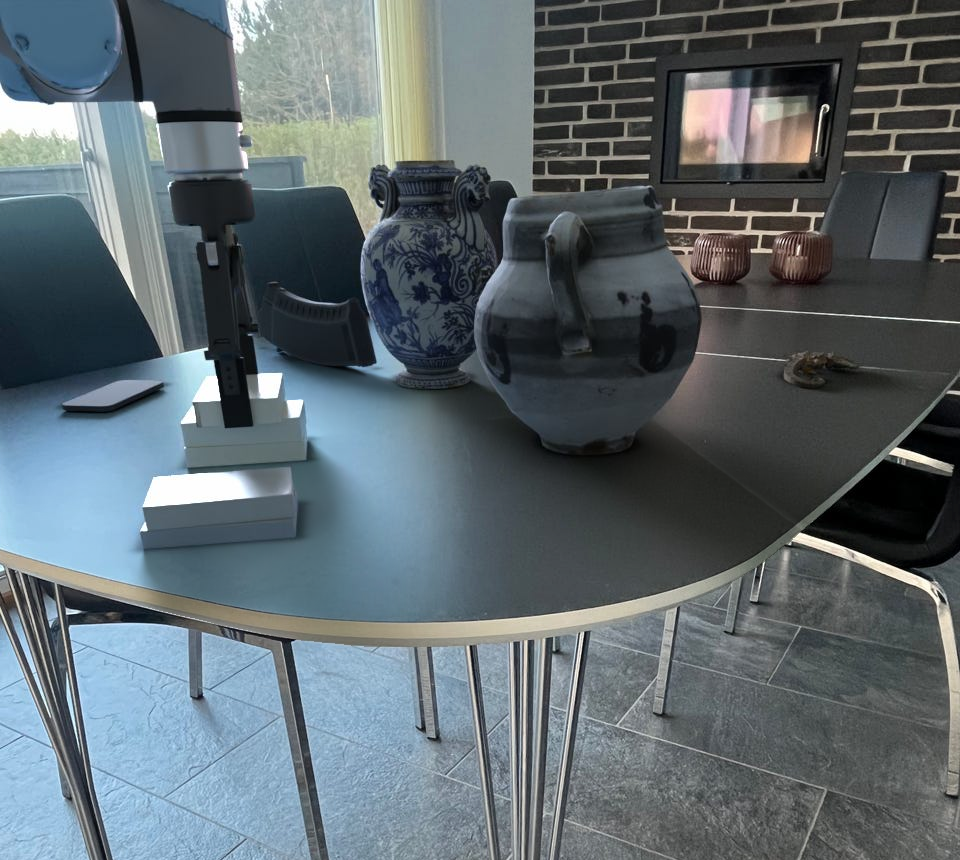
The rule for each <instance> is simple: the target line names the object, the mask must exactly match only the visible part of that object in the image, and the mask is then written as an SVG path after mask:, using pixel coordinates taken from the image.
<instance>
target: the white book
mask: <svg viewBox="0 0 960 860" xmlns="http://www.w3.org/2000/svg"><path fill="white" fill-rule="evenodd" d="M246 378H247V384H248V391H249V398H250V405H251V411H252V418H253V424H266V423H280V422H281V417H282V411H283V405H284V401H286V400H285V399H286V390H285V382H284V375H283V373H282V372H278V373H258V374H254V375H246ZM191 403H192V407H193V409H194V414H195V420H196V426H197V428H198V427H213V426H224V421H223V415H222V409H221V402H220V396H219V390H218V384H217V378H216V375H215V376H206V378H205V380H203V383H202V384H201V386H200V388H199V390H198V391H197V393H196V395H195V397H194V398H193V400H192V402H191Z"/></svg>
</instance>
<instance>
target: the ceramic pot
mask: <svg viewBox="0 0 960 860" xmlns="http://www.w3.org/2000/svg"><path fill="white" fill-rule="evenodd" d="M663 211H664V210H663V205H662V204H661V202H660V200H659V197H658V196H657V192H656V190H655V187H654V186H652V185H647V186H645V185H636V186H623V187H617V188H606V189H597V190H596V189H595V190H587V191H585V190H584V191H574V192H566V193H558V194H557V193H555V194H554V193H553V194H552V193H551V194H540V195H529V196H528V195H527V196H519V197H518V196H517V197H512V198H510V199H509V201H508V203H507V206H506V211H505V214H504V217H503V219H502V244H503V245H502V249H503V252H502V259H501V262H500V264H499V265H498V268H497V270H496V271H495V272H494V274H493V275H492V277H491V278H490V280H489V281H488V282H487V284H486V286H485V288H484V290H483V292H482V294H481V296H480V298H479V301H478V303H477V307H476V313H475V320H474V339H475V343H476V348H477V349H476V350H477V352H476V353H477V356H478V359H479V362H480V364H481V366H482V368H483V370H484V372H485V374H486V376H487V378H488V380H489V382H490V383H491V385H492V386H493V388H494V389H495V391H496V392H497V394H498V395H499V396H500V397H501V399H502V400H503V401H504V403H505V404H506V405H507V407H508V409H509V410H510V412H511V413H512V414H513V415H515V416H516V417H517V418H518V419H519V420H520V421H521V422H523V423H524V424H525V425H527V426H528V427H529V428H531V429H532V430H533V431H534V432H536V433H537V434H538V435H539V437H540V440H541V441H540V442H541V445H542V447H544V448H546V449H547V450H550V451H551V452H555V453H560V454H564V455H574V456H598V455H607V454H614V453H619V452H623V451H625V450H627V449H629V448H630V447H632V446H633V442H634V439H635V436H636V433H637V431H638V430H639V429H640V428H642V427H643V426H644V425H645V424H646V423H647V422H648V421H649V420H651V419H652V418H653V417H654V416H655V415H656V414H657V413H658V412H659V411H660V410H662V409H663V407H664V406H665V405H666V404H667V403H668V402H669V401H670V400H671V398H672V397H673V395H674V394H675V392H676V391H677V389H678V387H679V386H680V384H681V382H682V381H683V380H684V377H685V376H686V374H687V372H688V371H689V369H690V367H691V365H692V364H693V362H694V359H695V356H696V353H697V349H698V345H699V339H700V334H701V327H702V321H703V318H702V317H703V315H702V309H701V303H700V302H701V301H700V298H699V295H698V293H697V290H696V288H695V285H694V282H693V280H692V279H691V276H690V275H689V273H688V272H687V270H686V269H685V267H684V266H683V265H682V263H681V262H680V261H679V259H678V258H677V256H676V255H675V254H674V253H673V252H672V250H671V249H670V247H669V245H668V241H667V236H666V230H665V229H666V228H665V223H664V222H665V221H664V212H663Z"/></svg>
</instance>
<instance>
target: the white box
mask: <svg viewBox="0 0 960 860" xmlns="http://www.w3.org/2000/svg"><path fill="white" fill-rule="evenodd" d="M297 495H298V494H297V489H295V488H294V481H293V473H292V467H291V466H281V467H268V468H254V469H243V470H231V471H218V472H207V473H193V474H181V475H171V476H170V475H168V476H157V477H153V479H152V482H151V483H150V487H149V489H148V492H147V494H146V496H145V500H144V502H143V505H142V507H141V508H142V513H143V517H144V523H143V525H142V526H141V529H140V530H139V535H140V539H141V544H142V549H143V550H149V549H161V548H174V547H176V548H177V547H188V546H201V545H214V544H226V543H240V542H252V541H253V542H254V541H266V540H278V539H280V540H281V539H293V538H296V536H297V521H298V508H299V502H298V496H297Z"/></svg>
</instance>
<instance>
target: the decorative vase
mask: <svg viewBox="0 0 960 860" xmlns="http://www.w3.org/2000/svg"><path fill="white" fill-rule="evenodd" d="M455 163H456V162H455V160H454V159H446V160H445V159H444V160H396V161H395V162H394V167H393V169H390V168H389V167H388V165H386V164H376V165H375V166H373V167H371V168H370V172H369V174H368V176H367V177H368V182H367V185H368V189H369V190H370V194H369V196H370V198H371V199H373V200H374V203H375V205H377V207H379V208H380V209H381V212H380V216H379V218H378V222H377V224H376V225H374V227H372V228H371V230H370V231H369V232H368V234H367V236H366V238H365V240H364V241H363V245H362V249H361V256H360V281H361V288H362V293H363V298H364V302H365V305H366V308H367V312H368V313H369V317H370V320H371V322H372V325H373V327H374V329H375V332H376V334H377V335H378V338H379V339H380V341H381V342H382V344H383V346H384V348H386V350H387V351H388V353H389V354H390V355H391V356H392V357H393V358H395V359H396V360H398V362H399V363H401V364H403V366H404V369H402V370H401V371H400V372H399V373H397V374H396V376H395V384H396V385H398V386H400V387H403V388H409V389H417V390H418V389H419V390H443V389H453V388H457V387H459V388H460V387H461V386H465V385H467V384H468V383H470V381H471V380H470V374H469V373H468V372H467V371H465V370H463V369H462V368H460V366H461V364H462V363H464V362H466V360H467V359H469V358H470V357H471V356H472V355H473V354H474V353H475V352H476V350H477V348H476V343H475V339H474V320H475V313H476V307H477V303H478V301H479V298H480V296H481V294H482V292H483V290H484V288H485V286H486V284H487V282H488V281H489V280H490V278H491V277H492V275H493V274H494V272H495V271H496V270H497V268H498V267H499V265H498V258H497V251H496V248H495V245H494V241H493V239H492V238H491V236H490V234H489V233H488V231H487V229H486V228H485V226H484V223H483V220H482V218H481V215H480V213H479V211H480V210H481V209H482V208H483V206H484V204H485V203H488V202H489V201H490V200H491V196H490V194H489V192H490V191H491V180H492V176H491V175H490V174H489V172H488V169H487V168H486V167H485V166H481V165H479V164H476V163H475V164H474V165H473V164H469V165H468V166H467V168H466V169H465V170H464V171H462V170H461V169H460V168H457V167H456V164H455ZM382 202H383V203H382Z"/></svg>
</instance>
